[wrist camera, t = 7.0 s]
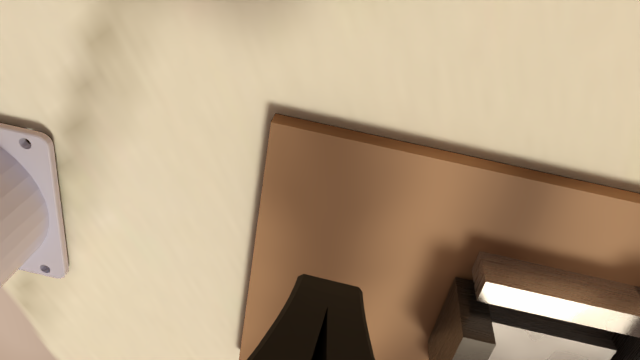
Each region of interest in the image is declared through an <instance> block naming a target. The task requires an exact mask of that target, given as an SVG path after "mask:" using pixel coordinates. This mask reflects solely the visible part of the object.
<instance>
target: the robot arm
mask: <svg viewBox="0 0 640 360" xmlns="http://www.w3.org/2000/svg"><path fill="white" fill-rule="evenodd" d="M26 139H28V140H29V141H30V143H31V144H29V143H28V142H27V141H26ZM18 269H19V270H23V271H28V272H32V273H36V274H41V275H45V276H49V277H54V278H63V277H64V276H65V275H66V274H67V273H68V272H69V265H68V257H67V249H66V241H65V233H64V225H63V217H62V209H61V201H60V193H59V185H58V177H57V169H56V161H55V153H54V145H53V142H52V140H51V139H50V137H49V136H47V135H46V134H44V133H42V132H39V131H34V130H30V129H25V128H21V127H16V126H12V125H7V124H3V123H0V288H1V287H2V286H3V284H4V283H5V282H6V281H7V280H8V279H9V278H10V277H11V276H12V275H13V274H14V273H15V272H16V271H17V270H18ZM247 360H375V357H374V353H373V349H372V345H371V341H370V336H369V332H368V327H367V322H366V316H365V310H364V302H363V292H362V291H361V289H360V288H359V287H356V286H352V285H348V284H344V283H340V282H336V281H332V280H328V279H323V278H319V277H315V276H311V275H307V274H302V275H300V276H298V277H297V280H296V283H295V285H294V288H293V290H292V292H291V294H290V296H289V298H288V300H287V301H286V303H285V305H284V307H283V308H282V310H281V312H280V313H279V315H278V317H277V318H276V320H275V321H274V323H273V324H272V326H271V327H270V328H269V330H268V331H267V333H266V334H265V336H264V337H263V339H262V340H261V342H260V343H259V344H258V346H257V347H256V348H255V350H254V351H253V352H252V354H251V355H250V356H249V357H248V359H247Z"/></svg>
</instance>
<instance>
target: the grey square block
mask: <svg viewBox="0 0 640 360" xmlns="http://www.w3.org/2000/svg"><path fill="white" fill-rule="evenodd" d="M616 351H617V349H616V347H615V345H614V343H613V340H612V338H611V336H610V334H609V331H607V330H603V329H598V328H594V327H590V326H585V325H581V324H577V323H572V322H568V321H563V320H559V319H555V318H550V317H546V316H541V315H537V314H533V313H528V312H524V311H519V310H515V309H511V308H506V307H502V306H497V305H493V304H489V303H484V302H480V301H477V299H476V294H475V288H474V282H473V281H472V280H468V279H463V278H459V277H455V279H454V281H453V283H452V286H451V288H450V290H449V293H448V295H447V297H446V300H445V302H444V304H443V307H442V309H441V311H440V314H439V316H438V318H437V321H436V323H435V325H434V328H433V330H432V332H431V335H430V337H429V339H428V354H429V360H610V359H611V358H612V357H613V355H614V354H615V353H616Z"/></svg>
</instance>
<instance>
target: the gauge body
mask: <svg viewBox="0 0 640 360" xmlns="http://www.w3.org/2000/svg"><path fill="white" fill-rule="evenodd" d="M471 270H472V276H473V282H474V288H475V294H476V299H477V301H480V302H484V303H489V304H493V305H497V306H502V307H506V308H511V309H515V310H519V311H524V312H528V313H533V314H537V315H541V316H546V317H550V318H555V319H559V320H563V321H568V322H572V323H577V324H581V325H585V326H590V327H594V328H598V329H603V330H607V331H609V334H610V336H611V338H612V340H613V343H614V345H615V347H616V349H617V351H616V353H615V354H614V355H613V357H612V358H611V359H610V360H640V287H638V286H633V285H629V284H625V283H620V282H616V281H611V280H607V279H602V278H598V277H593V276H589V275H585V274H580V273H576V272H571V271H567V270H562V269H558V268H553V267H549V266H545V265H540V264H536V263H531V262H527V261H522V260H518V259H513V258H509V257H504V256H500V255H496V254H491V253H487V252H482V251H479V253H478V256H477V258H476V260H475V262H474V265H473V267H472V269H471Z"/></svg>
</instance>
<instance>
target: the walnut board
mask: <svg viewBox="0 0 640 360" xmlns="http://www.w3.org/2000/svg"><path fill="white" fill-rule="evenodd" d="M479 251H482V252H487V253H491V254H496V255H500V256H504V257H509V258H513V259H518V260H522V261H527V262H531V263H536V264H540V265H545V266H549V267H553V268H558V269H562V270H567V271H571V272H576V273H580V274H585V275H589V276H593V277H598V278H602V279H607V280H611V281H616V282H620V283H625V284H629V285H633V286H638V287H640V194H639V193H635V192H630V191H626V190H621V189H617V188H612V187H608V186H603V185H598V184H594V183H589V182H585V181H580V180H576V179H571V178H567V177H562V176H558V175H553V174H548V173H544V172H539V171H535V170H530V169H526V168H521V167H517V166H512V165H508V164H503V163H498V162H494V161H489V160H485V159H480V158H476V157H471V156H467V155H462V154H458V153H453V152H449V151H444V150H439V149H435V148H430V147H426V146H421V145H417V144H412V143H408V142H403V141H399V140H394V139H389V138H385V137H380V136H376V135H371V134H367V133H362V132H358V131H353V130H349V129H344V128H339V127H335V126H330V125H326V124H321V123H317V122H312V121H308V120H303V119H299V118H294V117H289V116H285V115H280V114H276V113H275V115H274V117H273V119H272V121H271V125H270V133H269V140H268V148H267V155H266V163H265V170H264V177H263V185H262V192H261V200H260V207H259V215H258V222H257V230H256V237H255V245H254V252H253V259H252V267H251V274H250V282H249V289H248V297H247V304H246V312H245V319H244V327H243V334H242V342H241V349H240V356H239V360H247V359H248V357H249V356H250V355H251V354H252V352H253V351H254V350H255V348H256V347H257V346H258V344H259V343H260V342H261V340H262V339H263V337H264V336H265V334H266V333H267V331H268V330H269V328H270V327H271V326H272V324H273V323H274V321H275V320H276V318H277V317H278V315H279V313H280V312H281V310H282V308H283V307H284V305H285V303H286V301H287V300H288V298H289V296H290V294H291V292H292V290H293V288H294V285H295V283H296V280H297V277H298V276H300V275H302V274H307V275H311V276H315V277H319V278H323V279H328V280H332V281H336V282H340V283H344V284H348V285H352V286H356V287H359V288H360V289H361V291H362V292H363V302H364V310H365V316H366V322H367V327H368V332H369V336H370V341H371V345H372V349H373V353H374V357H375V360H429V354H428V339H429V337H430V335H431V332H432V330H433V328H434V325H435V323H436V321H437V318H438V316H439V314H440V311H441V309H442V307H443V304H444V302H445V300H446V297H447V295H448V293H449V290H450V288H451V286H452V283H453V281H454V279H455V277H459V278H463V279H468V280H472V281H473V276H472V270H471V269H472V267H473V265H474V262H475V260H476V258H477V256H478V253H479Z"/></svg>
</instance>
